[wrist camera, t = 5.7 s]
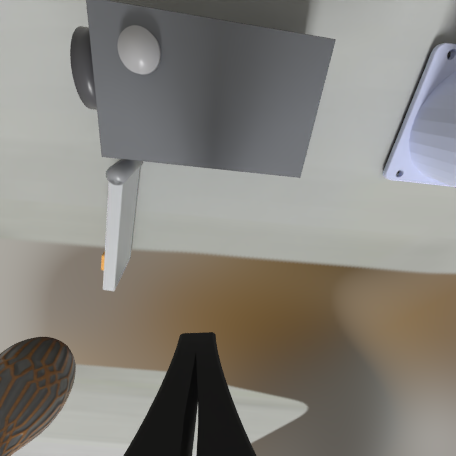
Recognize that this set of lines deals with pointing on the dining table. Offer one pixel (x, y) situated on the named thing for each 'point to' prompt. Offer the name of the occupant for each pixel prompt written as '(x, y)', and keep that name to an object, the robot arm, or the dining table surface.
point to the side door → (119, 219)
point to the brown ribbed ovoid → (32, 389)
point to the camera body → (199, 88)
